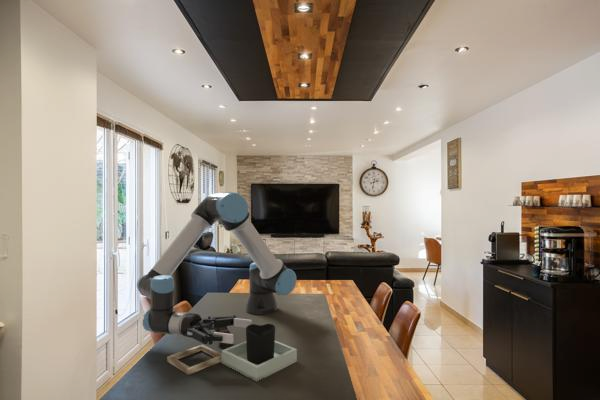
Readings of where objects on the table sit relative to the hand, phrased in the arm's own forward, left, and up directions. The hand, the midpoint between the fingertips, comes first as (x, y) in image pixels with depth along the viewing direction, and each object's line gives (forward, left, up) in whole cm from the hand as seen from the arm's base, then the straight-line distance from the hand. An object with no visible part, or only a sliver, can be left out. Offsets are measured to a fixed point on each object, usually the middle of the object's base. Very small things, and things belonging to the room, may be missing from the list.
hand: (242, 331), depth 111 cm
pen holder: (-3, +5, -9) cm, 11 cm away
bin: (-3, +5, -9) cm, 11 cm away
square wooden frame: (+10, -11, -9) cm, 18 cm away
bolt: (-7, -21, -10) cm, 24 cm away
